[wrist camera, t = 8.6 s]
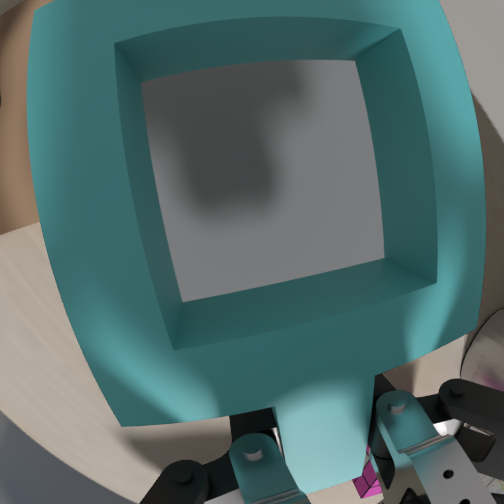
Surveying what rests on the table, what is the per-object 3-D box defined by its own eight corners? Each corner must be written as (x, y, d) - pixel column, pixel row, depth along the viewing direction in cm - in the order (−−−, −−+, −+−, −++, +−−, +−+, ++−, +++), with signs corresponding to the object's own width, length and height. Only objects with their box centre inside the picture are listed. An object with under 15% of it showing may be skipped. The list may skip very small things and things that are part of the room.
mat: (360, 39, 14) (364, 35, 13) (394, 281, 18) (399, 284, 17) (112, 63, 13) (109, 60, 12) (162, 331, 17) (160, 336, 16)
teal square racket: (390, 16, 7) (431, -14, 4) (415, 400, 10) (445, 434, 8) (72, 46, 6) (34, 10, 3) (185, 463, 9) (185, 512, 7)
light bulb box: (478, 479, 35) (498, 504, 25) (467, 482, 34) (489, 511, 23) (508, 445, 34) (532, 470, 23) (501, 447, 32) (527, 474, 22)
